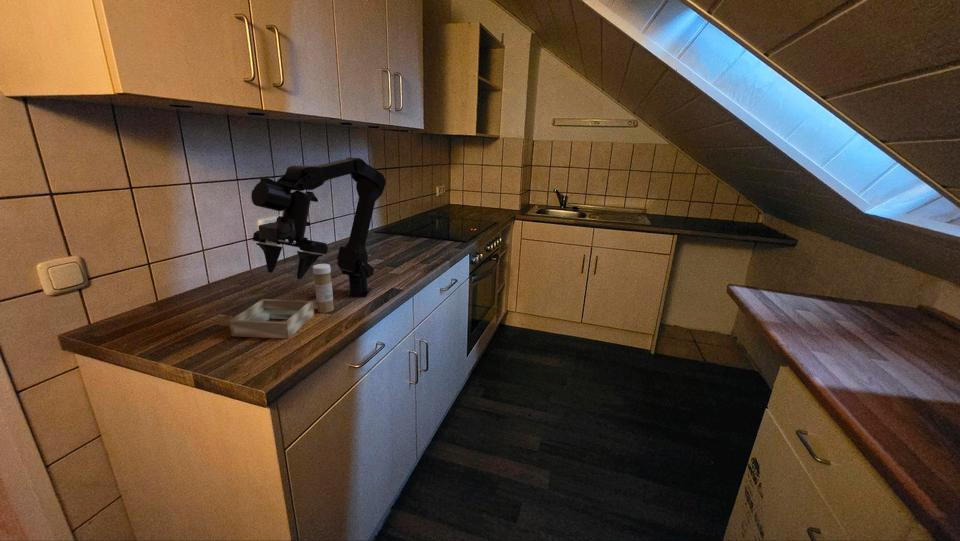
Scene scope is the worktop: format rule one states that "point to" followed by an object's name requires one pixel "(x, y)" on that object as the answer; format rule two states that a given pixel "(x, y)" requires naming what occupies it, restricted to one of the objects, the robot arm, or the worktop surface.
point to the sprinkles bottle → (323, 287)
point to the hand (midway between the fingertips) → (284, 275)
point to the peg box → (258, 315)
